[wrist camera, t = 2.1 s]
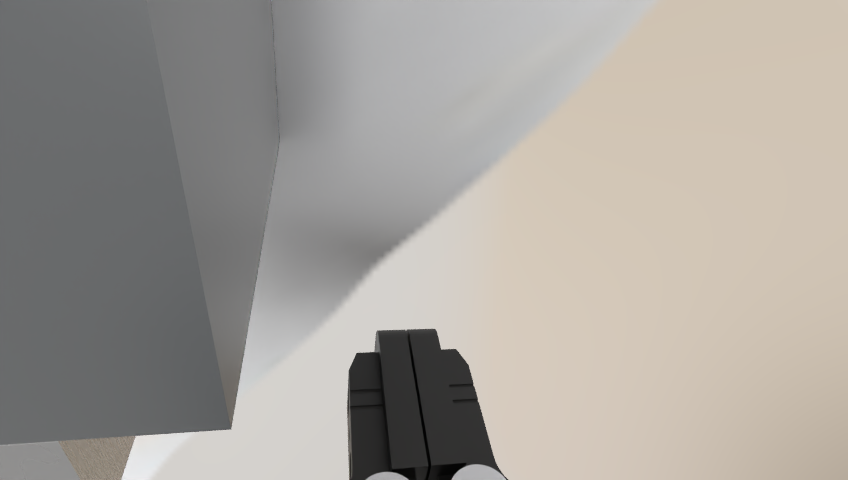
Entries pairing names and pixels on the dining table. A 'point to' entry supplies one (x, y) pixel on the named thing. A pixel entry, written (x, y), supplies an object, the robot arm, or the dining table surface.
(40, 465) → the battery door
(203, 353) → the camera housing
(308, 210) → the dining table surface
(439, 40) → the dining table surface
